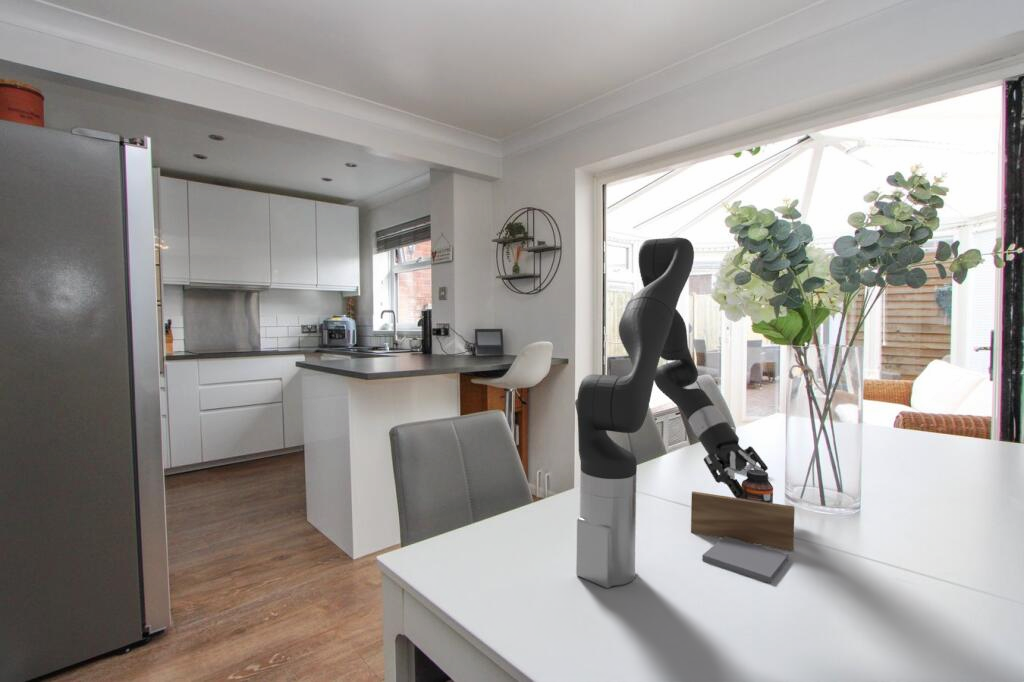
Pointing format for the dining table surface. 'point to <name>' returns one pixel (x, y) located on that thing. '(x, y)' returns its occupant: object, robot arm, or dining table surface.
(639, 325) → the robot arm
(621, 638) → the dining table surface
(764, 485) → the supplement bottle
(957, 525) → the dining table surface
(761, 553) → the charcoal pad
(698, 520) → the walnut screen
